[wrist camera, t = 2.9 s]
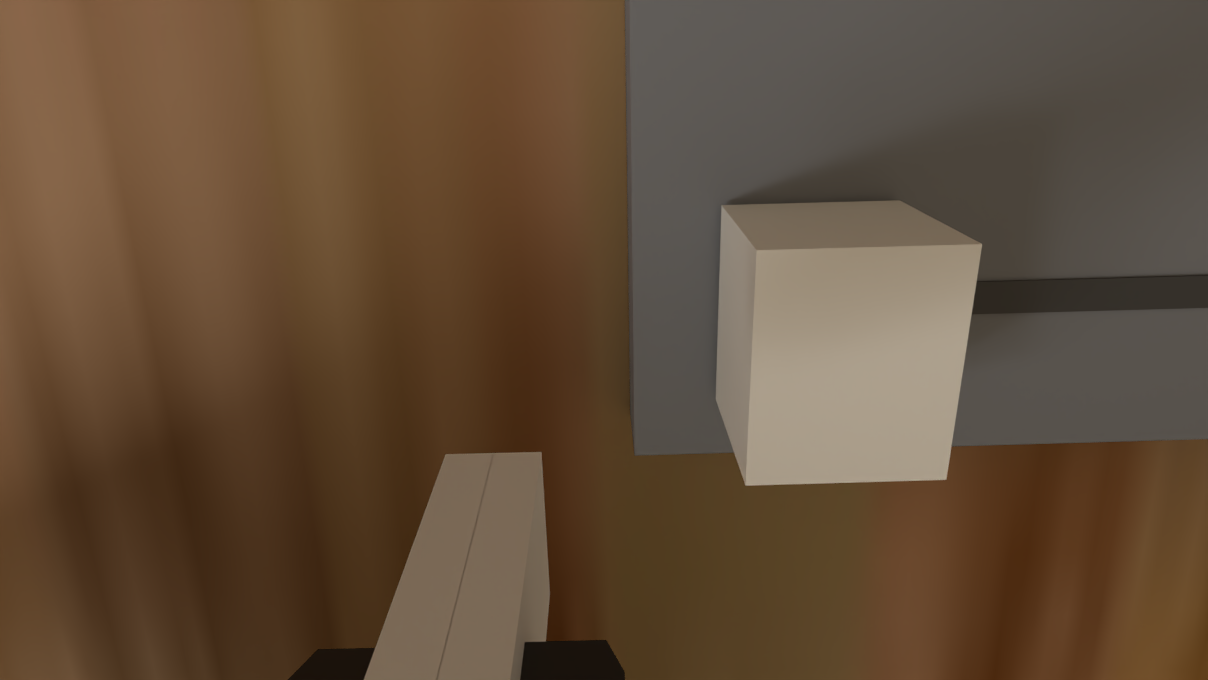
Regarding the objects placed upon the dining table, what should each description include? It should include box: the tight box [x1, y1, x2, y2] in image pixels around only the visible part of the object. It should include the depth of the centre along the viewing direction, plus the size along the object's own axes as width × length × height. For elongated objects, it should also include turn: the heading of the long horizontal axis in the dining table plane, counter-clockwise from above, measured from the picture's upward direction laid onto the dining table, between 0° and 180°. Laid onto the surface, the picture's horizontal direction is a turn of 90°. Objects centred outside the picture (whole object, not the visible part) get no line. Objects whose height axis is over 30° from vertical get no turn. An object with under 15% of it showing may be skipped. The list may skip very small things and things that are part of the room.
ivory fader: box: [716, 200, 982, 486], centre depth 21 cm, size 5×6×5 cm
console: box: [625, 0, 1208, 455], centre depth 22 cm, size 26×24×3 cm
